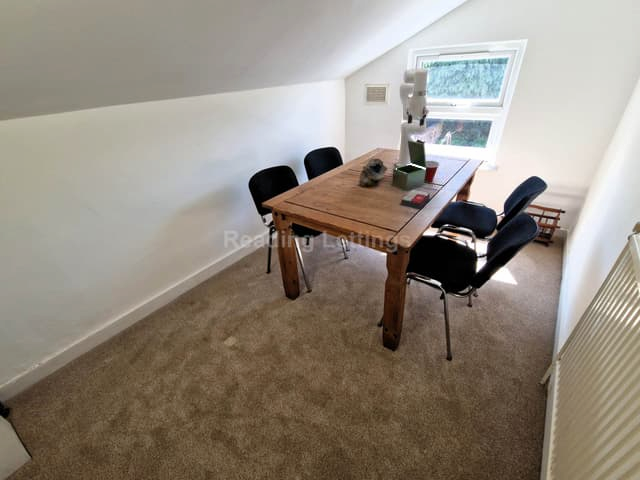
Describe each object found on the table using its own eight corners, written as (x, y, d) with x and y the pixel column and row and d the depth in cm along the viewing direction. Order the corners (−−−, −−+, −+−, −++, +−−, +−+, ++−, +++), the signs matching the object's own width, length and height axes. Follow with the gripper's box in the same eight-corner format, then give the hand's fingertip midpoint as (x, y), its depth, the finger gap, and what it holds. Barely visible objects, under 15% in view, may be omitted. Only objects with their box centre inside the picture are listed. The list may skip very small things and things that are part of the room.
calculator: (401, 198, 158) (411, 188, 167) (400, 205, 160) (411, 195, 170) (420, 203, 152) (430, 192, 162) (419, 210, 154) (429, 198, 164)
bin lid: (423, 144, 166) (429, 140, 167) (407, 140, 175) (413, 136, 176) (425, 168, 176) (431, 164, 177) (410, 163, 186) (416, 159, 187)
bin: (406, 190, 176) (408, 174, 170) (391, 184, 185) (393, 168, 179) (423, 185, 182) (426, 168, 177) (409, 179, 192) (411, 163, 186)
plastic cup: (418, 182, 186) (420, 164, 180) (420, 177, 194) (423, 159, 188) (435, 184, 182) (438, 166, 175) (437, 179, 190) (440, 161, 184)
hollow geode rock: (379, 180, 205) (367, 163, 205) (393, 170, 196) (380, 153, 196) (361, 193, 186) (348, 174, 185) (375, 182, 176) (361, 163, 176)
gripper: (404, 93, 173) (401, 123, 182) (426, 95, 160) (421, 127, 170) (412, 92, 176) (409, 121, 185) (435, 94, 164) (430, 125, 173)
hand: (415, 124), depth 178 cm, fingers open, 9 cm apart
